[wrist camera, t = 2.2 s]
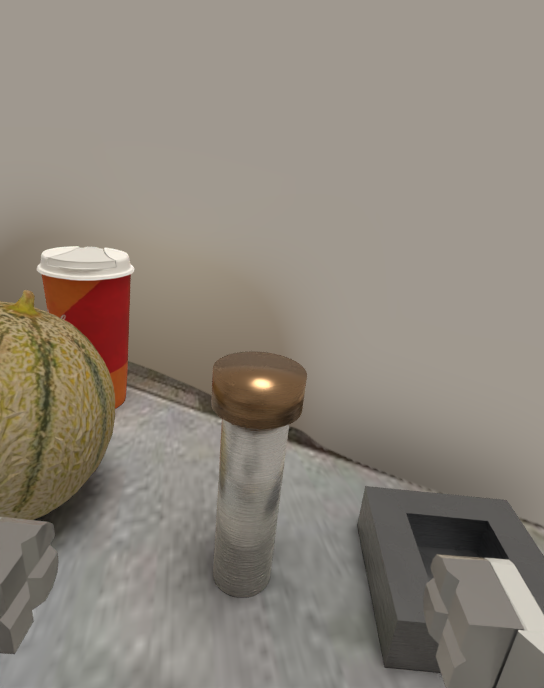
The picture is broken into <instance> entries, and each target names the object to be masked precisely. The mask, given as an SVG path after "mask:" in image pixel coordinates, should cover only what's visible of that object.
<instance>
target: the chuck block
mask: <svg viewBox="0 0 544 688" xmlns="http://www.w3.org/2000/svg"><path fill="white" fill-rule="evenodd" d="M357 526H358V531H359V536H360V541H361V546H362V551H363V557H364V562H365V567H366V572H367V577H368V582H369V588H370V593H371V598H372V603H373V608H374V614H375V619H376V624H377V629H378V634H379V639H380V645H381V650H382V655H383V660H384V665H385V667H390V668H400V669H411V670H421V671H431V672H441V671H440V668H439V665H438V662H437V658H436V653H437V650H438V646H439V644H438V643H437V642H436V641H435V640H434V639H433V637H432V636H431V635H430V634H429V632H428V629H427V625H426V622H425V616H424V610H423V595H424V591H425V586H426V583H428V582H429V581H430V580H431V579H433V578H434V577H433V574H432V571H431V568H430V567H431V564H432V560H433V558H434V557H435V556H436V554H439V555H453V556H466V557H480V558H494V559H507V560H510V561H511V562H512V563H513V564H514V565H515V567H516V568H517V570H518V572H519V573H520V575H521V577H522V579H523V580H524V582H525V584H526V585H527V587H528V589H529V590H530V592H531V594H532V596H533V597H534V599H535V601H536V602H537V604H538V606H539V607H540V609H541V611H542V613H543V614H544V556H543V554H542V553H541V551H540V550H539V548H538V547H537V545H536V544H535V542H534V541H533V539H532V538H531V536H530V535H529V533H528V532H527V530H526V528H525V527H524V525H523V524H522V522H521V521H520V519H519V518H518V516H517V515H516V513H515V512H514V510H513V509H512V507H511V506H510V504H509V503H508V501H507V500H500V499H490V498H480V497H469V496H459V495H449V494H439V493H429V492H419V491H409V490H399V489H388V488H378V487H368V486H365V491H364V495H363V500H362V505H361V510H360V515H359V519H358V524H357Z"/></svg>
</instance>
